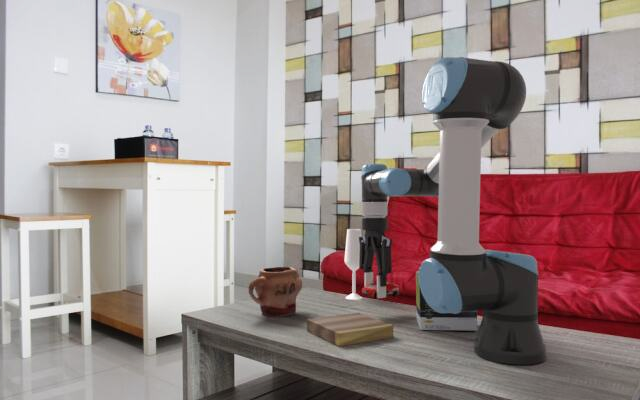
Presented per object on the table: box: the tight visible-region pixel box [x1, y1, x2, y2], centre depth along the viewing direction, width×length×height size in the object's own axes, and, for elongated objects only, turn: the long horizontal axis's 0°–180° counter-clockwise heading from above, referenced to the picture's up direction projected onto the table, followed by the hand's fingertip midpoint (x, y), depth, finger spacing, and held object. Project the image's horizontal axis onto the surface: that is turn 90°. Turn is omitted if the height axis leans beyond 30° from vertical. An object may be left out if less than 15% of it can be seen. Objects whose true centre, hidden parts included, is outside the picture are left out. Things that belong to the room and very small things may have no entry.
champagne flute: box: [343, 228, 363, 301], centre depth 178 cm, size 7×7×24 cm
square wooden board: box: [306, 312, 394, 347], centre depth 131 cm, size 16×16×3 cm
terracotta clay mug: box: [248, 266, 303, 318], centre depth 152 cm, size 20×12×14 cm, turn 143°
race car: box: [361, 281, 401, 300], centre depth 152 cm, size 13×5×4 cm, turn 127°
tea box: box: [415, 270, 478, 332], centre depth 139 cm, size 15×10×15 cm, turn 84°
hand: (375, 295), depth 150 cm, fingers closed on race car, 6 cm apart
